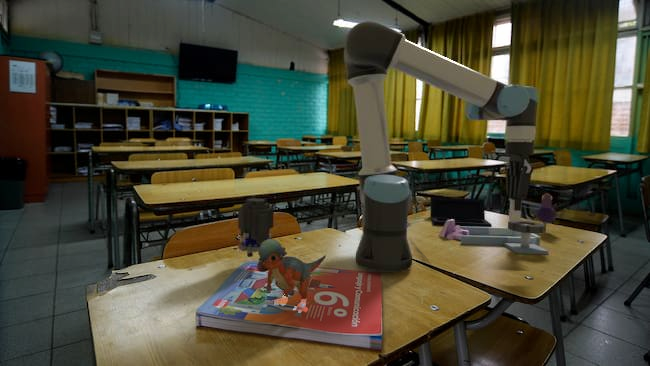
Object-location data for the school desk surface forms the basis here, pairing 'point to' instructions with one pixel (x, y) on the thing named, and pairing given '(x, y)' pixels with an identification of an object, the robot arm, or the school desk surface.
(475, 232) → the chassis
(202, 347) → the school desk surface
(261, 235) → the toy
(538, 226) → the wheel
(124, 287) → the school desk surface
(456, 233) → the letters
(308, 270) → the toy
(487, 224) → the black laptop
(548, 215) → the toy
